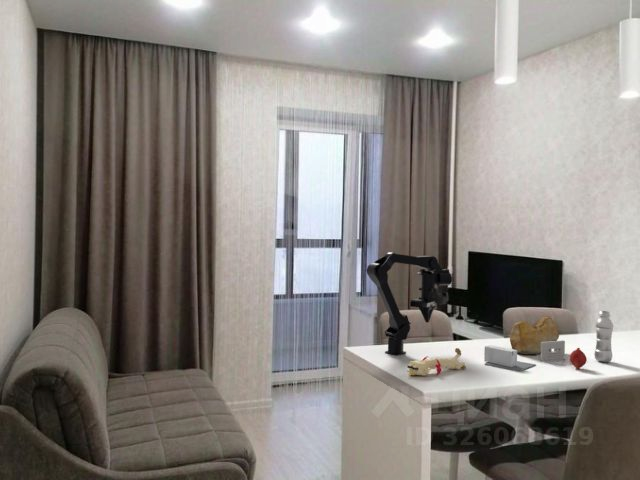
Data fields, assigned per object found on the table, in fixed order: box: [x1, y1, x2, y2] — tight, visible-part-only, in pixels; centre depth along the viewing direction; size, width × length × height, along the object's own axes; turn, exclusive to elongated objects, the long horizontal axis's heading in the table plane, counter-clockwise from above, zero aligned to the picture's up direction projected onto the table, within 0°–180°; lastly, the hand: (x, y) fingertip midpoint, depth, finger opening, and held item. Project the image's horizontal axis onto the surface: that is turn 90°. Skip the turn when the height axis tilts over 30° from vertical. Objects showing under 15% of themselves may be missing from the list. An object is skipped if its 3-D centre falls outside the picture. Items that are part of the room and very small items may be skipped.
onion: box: [569, 347, 587, 370], centre depth 212 cm, size 6×6×8 cm
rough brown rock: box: [509, 316, 560, 355], centre depth 243 cm, size 23×17×15 cm
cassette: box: [540, 339, 566, 363], centre depth 225 cm, size 12×2×8 cm, turn 113°
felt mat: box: [484, 360, 537, 372], centre depth 216 cm, size 14×14×1 cm
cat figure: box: [406, 347, 467, 376], centre depth 202 cm, size 10×9×25 cm
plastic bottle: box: [593, 310, 614, 363], centre depth 225 cm, size 6×7×20 cm
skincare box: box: [483, 344, 518, 367], centre depth 216 cm, size 6×4×12 cm
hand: (427, 322), depth 239 cm, fingers closed
